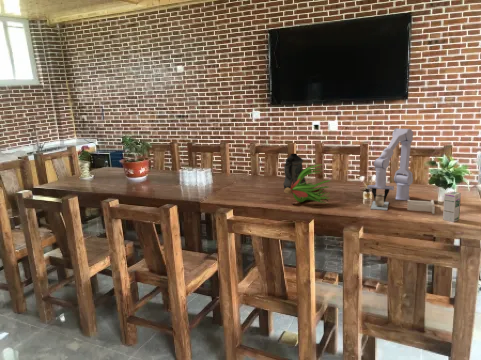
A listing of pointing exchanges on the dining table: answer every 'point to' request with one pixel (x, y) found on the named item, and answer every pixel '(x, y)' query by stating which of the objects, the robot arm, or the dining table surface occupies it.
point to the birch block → (379, 199)
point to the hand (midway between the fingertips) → (380, 201)
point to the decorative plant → (306, 187)
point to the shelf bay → (421, 206)
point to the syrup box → (451, 206)
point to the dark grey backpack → (293, 170)
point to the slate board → (376, 207)
